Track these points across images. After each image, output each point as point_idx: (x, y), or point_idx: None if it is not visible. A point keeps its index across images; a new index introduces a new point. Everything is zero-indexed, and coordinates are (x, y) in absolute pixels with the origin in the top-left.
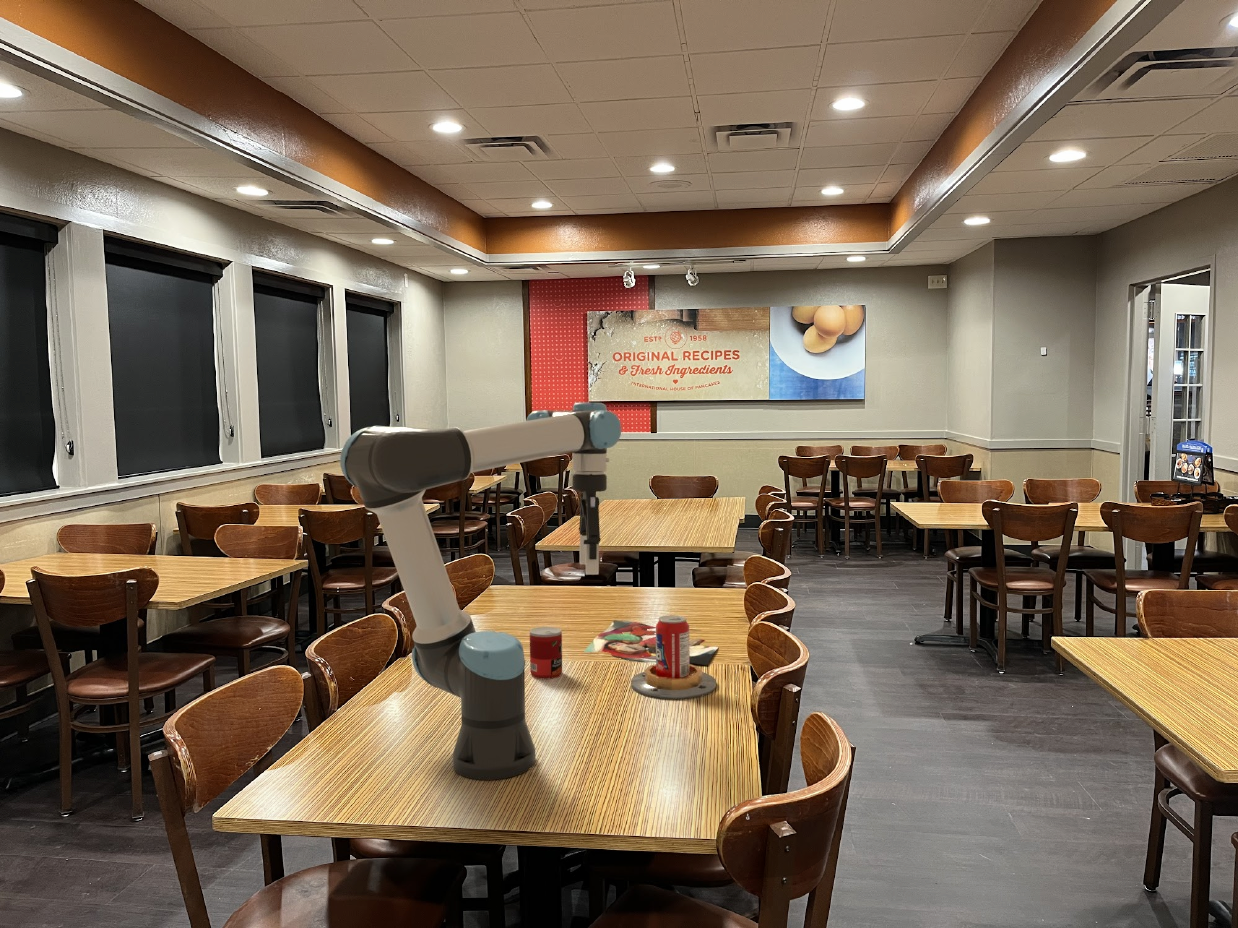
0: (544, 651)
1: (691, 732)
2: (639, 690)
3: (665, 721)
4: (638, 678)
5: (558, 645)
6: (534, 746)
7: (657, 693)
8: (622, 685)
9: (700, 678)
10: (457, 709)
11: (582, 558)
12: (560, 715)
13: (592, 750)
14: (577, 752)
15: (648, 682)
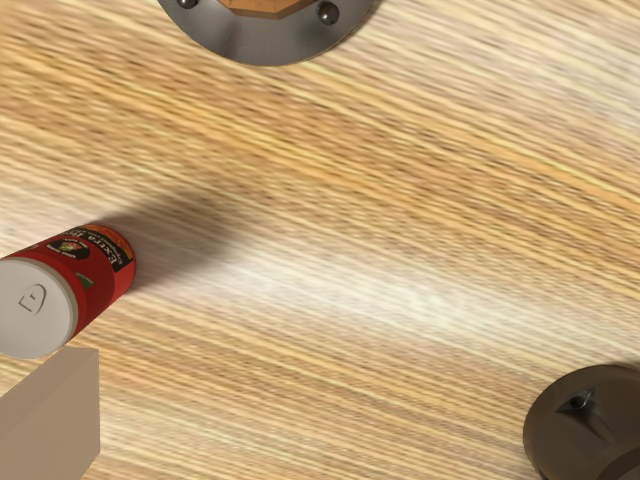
0: (102, 300)
1: (628, 10)
2: (310, 57)
3: (532, 53)
4: (215, 30)
5: (79, 262)
6: (626, 379)
7: (359, 14)
8: (231, 86)
9: None
10: (301, 460)
11: (64, 474)
12: (402, 282)
13: (619, 259)
14: (615, 288)
15: (281, 16)
